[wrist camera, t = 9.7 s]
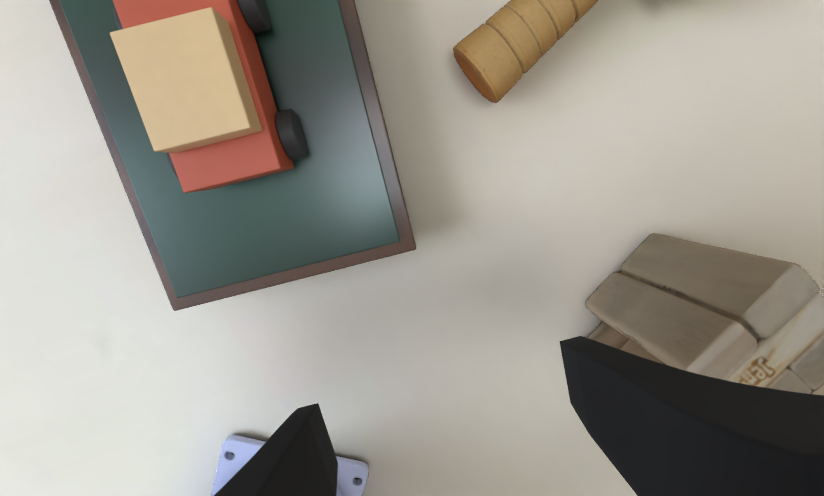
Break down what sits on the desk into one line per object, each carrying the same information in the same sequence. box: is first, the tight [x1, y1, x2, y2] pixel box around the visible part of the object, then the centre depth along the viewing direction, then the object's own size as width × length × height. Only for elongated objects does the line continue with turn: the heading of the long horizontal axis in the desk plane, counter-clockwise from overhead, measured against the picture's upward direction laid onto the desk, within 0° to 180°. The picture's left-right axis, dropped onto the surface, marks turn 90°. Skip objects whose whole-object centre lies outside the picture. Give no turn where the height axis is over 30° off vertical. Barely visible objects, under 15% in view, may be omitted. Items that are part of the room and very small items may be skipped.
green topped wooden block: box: [49, 0, 416, 311], centre depth 17 cm, size 16×11×3 cm
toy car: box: [110, 0, 308, 193], centre depth 13 cm, size 7×5×4 cm, turn 14°
